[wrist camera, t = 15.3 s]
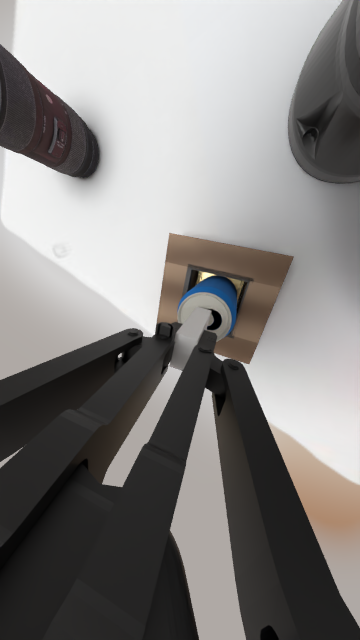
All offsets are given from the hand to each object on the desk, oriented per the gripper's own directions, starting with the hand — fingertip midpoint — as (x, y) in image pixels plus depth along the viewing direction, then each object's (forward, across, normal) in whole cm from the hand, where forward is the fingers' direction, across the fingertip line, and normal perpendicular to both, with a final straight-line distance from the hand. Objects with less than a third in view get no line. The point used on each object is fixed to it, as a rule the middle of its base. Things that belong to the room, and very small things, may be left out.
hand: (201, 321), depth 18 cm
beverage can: (+13, 0, 0) cm, 13 cm away
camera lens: (+14, -27, +17) cm, 35 cm away
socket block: (+14, 0, 0) cm, 14 cm away
